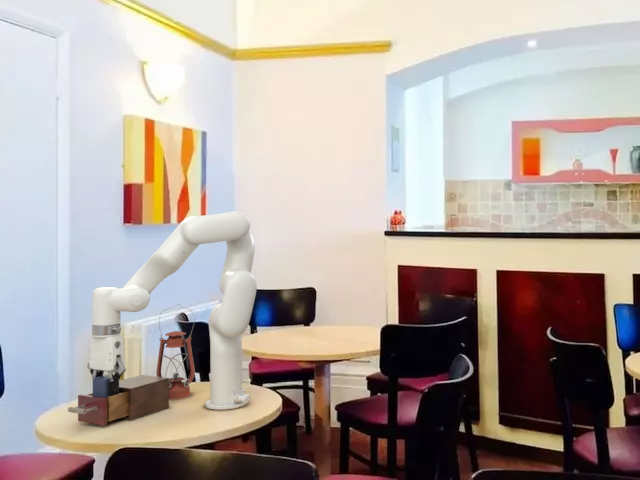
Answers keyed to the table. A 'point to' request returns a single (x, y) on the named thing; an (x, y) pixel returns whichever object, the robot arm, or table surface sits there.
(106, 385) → the block
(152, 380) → the cabinet
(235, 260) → the robot arm
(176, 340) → the lantern
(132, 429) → the table surface
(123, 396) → the drawer
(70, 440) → the table surface
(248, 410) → the table surface
